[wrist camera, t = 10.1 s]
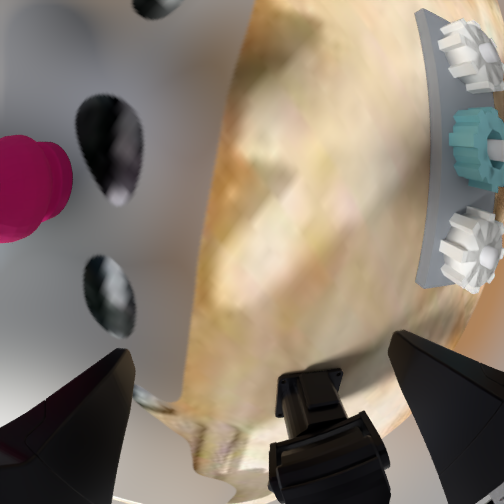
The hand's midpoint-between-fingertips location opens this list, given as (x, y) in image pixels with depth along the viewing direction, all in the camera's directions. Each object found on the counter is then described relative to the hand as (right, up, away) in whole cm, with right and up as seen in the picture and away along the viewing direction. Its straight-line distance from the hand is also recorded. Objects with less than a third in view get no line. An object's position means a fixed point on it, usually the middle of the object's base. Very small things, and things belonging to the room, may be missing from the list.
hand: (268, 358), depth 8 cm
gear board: (+19, +13, +10) cm, 25 cm away
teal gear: (+19, +13, +8) cm, 24 cm away
